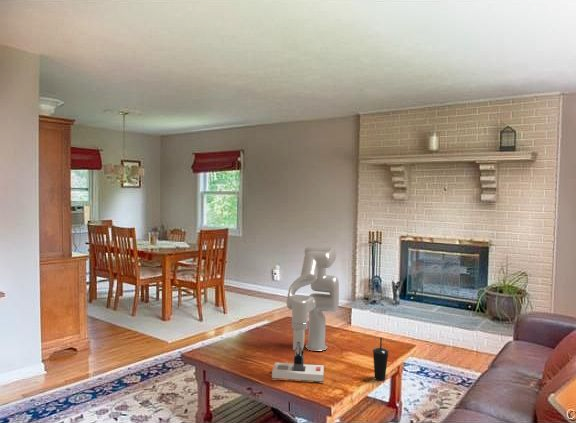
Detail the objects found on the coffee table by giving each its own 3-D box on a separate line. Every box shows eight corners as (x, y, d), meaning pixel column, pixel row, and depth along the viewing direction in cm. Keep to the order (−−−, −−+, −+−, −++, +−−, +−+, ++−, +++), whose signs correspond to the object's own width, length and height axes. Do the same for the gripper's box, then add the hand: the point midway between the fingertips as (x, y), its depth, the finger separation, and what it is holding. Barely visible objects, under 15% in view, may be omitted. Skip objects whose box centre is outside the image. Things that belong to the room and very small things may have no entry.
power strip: (275, 370, 225) (275, 360, 225) (323, 373, 223) (323, 363, 223) (271, 380, 213) (272, 370, 213) (323, 383, 211) (323, 373, 211)
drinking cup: (368, 376, 220) (370, 335, 219) (382, 374, 223) (383, 334, 222) (377, 382, 213) (378, 340, 212) (391, 380, 216) (392, 339, 215)
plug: (294, 372, 220) (294, 354, 220) (303, 373, 220) (303, 354, 220) (293, 376, 216) (293, 357, 216) (302, 376, 215) (303, 358, 215)
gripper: (293, 319, 226) (292, 353, 227) (290, 330, 209) (289, 366, 210) (308, 320, 225) (307, 354, 226) (306, 331, 208) (305, 367, 209)
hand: (298, 360), depth 218 cm, fingers open, 9 cm apart
